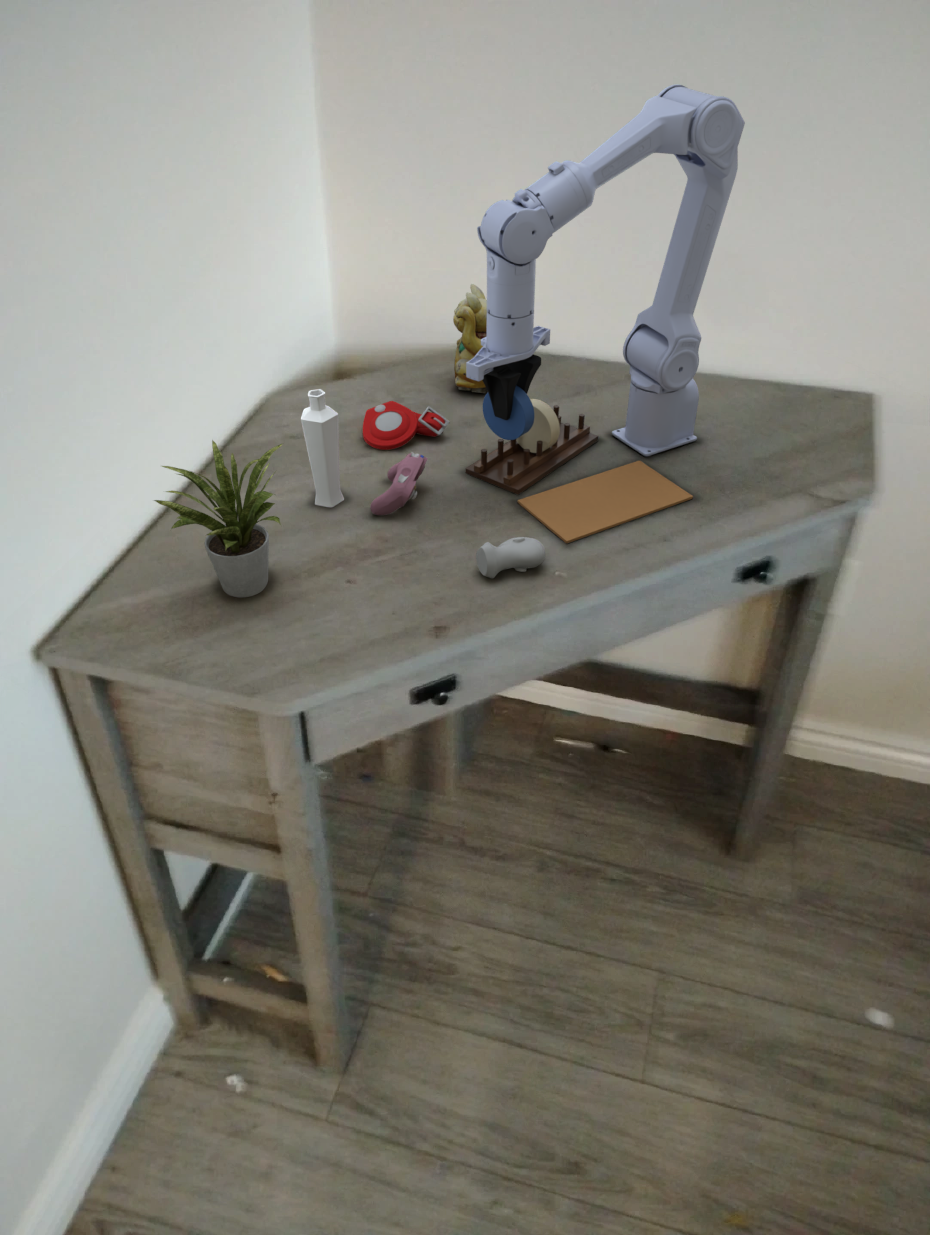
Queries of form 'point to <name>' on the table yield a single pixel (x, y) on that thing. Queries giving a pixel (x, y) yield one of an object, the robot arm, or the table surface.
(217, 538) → the house plant
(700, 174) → the robot arm
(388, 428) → the tracker holder
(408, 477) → the video game controller
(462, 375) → the decorative figurine
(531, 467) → the rack
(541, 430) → the cream disc
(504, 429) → the blue disc
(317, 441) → the white faceted vase
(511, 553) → the smooth white sculpture
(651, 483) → the mat
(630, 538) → the table surface
